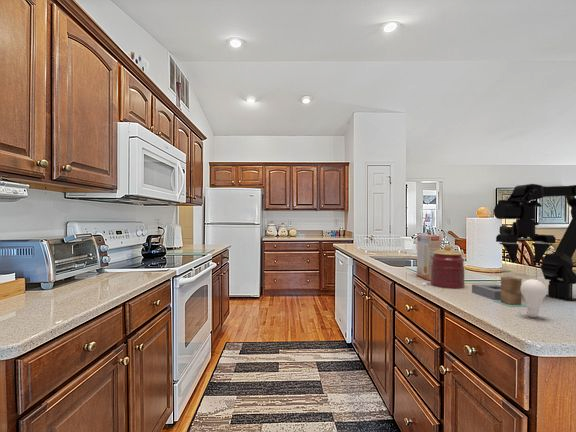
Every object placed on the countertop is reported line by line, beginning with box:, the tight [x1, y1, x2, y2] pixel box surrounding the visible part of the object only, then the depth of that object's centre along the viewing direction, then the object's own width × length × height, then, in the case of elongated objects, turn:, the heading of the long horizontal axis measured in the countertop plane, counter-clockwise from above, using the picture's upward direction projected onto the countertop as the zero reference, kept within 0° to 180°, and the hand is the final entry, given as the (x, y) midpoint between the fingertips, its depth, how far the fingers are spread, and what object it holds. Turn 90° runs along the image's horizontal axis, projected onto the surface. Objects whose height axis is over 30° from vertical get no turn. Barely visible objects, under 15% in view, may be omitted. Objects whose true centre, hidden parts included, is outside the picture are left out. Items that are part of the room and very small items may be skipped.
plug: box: [499, 275, 523, 305], centre depth 109 cm, size 4×4×9 cm
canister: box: [430, 244, 466, 290], centre depth 139 cm, size 13×13×18 cm
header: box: [471, 283, 501, 301], centre depth 120 cm, size 10×12×4 cm
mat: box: [493, 300, 527, 308], centre depth 109 cm, size 7×7×1 cm
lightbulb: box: [520, 278, 548, 318], centre depth 96 cm, size 6×6×11 cm
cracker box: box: [416, 233, 442, 282], centre depth 158 cm, size 14×6×21 cm, turn 179°
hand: (525, 262), depth 118 cm, fingers open, 9 cm apart
